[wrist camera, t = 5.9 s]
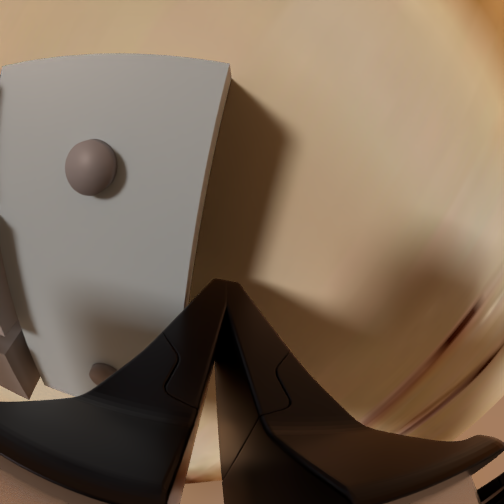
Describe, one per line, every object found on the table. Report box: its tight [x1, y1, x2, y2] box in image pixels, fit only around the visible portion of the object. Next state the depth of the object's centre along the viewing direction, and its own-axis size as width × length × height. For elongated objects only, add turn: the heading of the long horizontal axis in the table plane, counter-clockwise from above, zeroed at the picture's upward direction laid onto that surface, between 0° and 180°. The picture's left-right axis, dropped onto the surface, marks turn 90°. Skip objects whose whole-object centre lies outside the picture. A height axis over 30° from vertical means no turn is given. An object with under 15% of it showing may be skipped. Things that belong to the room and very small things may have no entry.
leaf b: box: [0, 53, 231, 397], centre depth 7 cm, size 8×12×4 cm
